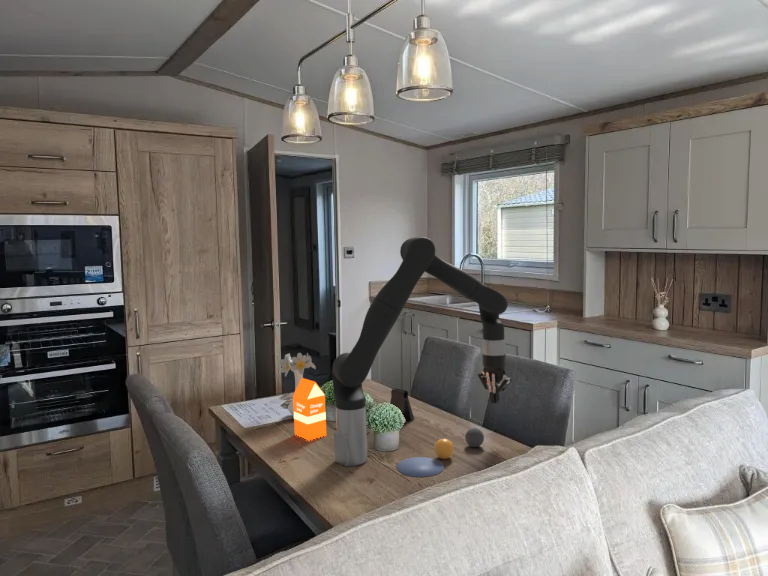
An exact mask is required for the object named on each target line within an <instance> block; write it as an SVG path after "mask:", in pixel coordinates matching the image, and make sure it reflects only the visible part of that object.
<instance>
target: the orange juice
mask: <svg viewBox="0 0 768 576" xmlns="http://www.w3.org/2000/svg"><path fill="white" fill-rule="evenodd" d="M292 400H293V404H294V417H293V420H294V421H293V425H294V426H293V427H294V435H295V436H296V435H297V436H296V437H298V436H299V437H298V438H300V437H302V438H304V439H306V440H305V441H307V440H308V441H307V442H311V441H314V440H313V439H315V440H317V439H316V438H318V439H321V438H324V437H327V413H326V394H325V393H324V392H323V390H322V389H321V388H320V386H319V385H318V384H317V382H316V381H314V380H310V379H307V378H304V377H303V378H302V379H301V381H300V383H299V385H298V387H297V389H296V391H295V390H294V392H293V395H292ZM323 436H324V437H323ZM320 437H321V438H320ZM302 438H301V439H302ZM304 439H303V440H304ZM310 440H311V441H310Z"/></svg>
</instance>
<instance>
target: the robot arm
mask: <svg viewBox="0 0 768 576" xmlns="http://www.w3.org/2000/svg"><path fill="white" fill-rule="evenodd" d="M399 251H400V252H399V253H400V254H399V255H400V257H401V259H402V261H401V264H400V266H399V267H398V269H397V270H396V272H395V273H394V275H393V276H392V277H391V278H390V279H389V280H388V281H387V282H386V283H385V285H383V286H382V288H381V289H380V290H379V291H378V293H377V294H376V296H375V297H374V299H373V301H372V302H371V304H370V305H369V307H368V309H367V312H366V314H365V317H364V320H363V324H362V328H361V330H360V331H361V332H360V335H359V338H358V340H357V342H356V343H355V345H354V346H353V348H352V349H351V351H350V352H343V353H341V354H339V355H338V356H336V358H335V359H334V360H333V363H332V371H331V373H332V374H331V375H332V387H333V388H332V389H333V390H332V391H333V396H334V397H333V398H334V400H335V401H334V402H335V419H336V420H335V423H336V425H335V427H336V430H334V431H333V441H334V443H333V445H334V461H335V462H337V463H338V464H340V465H342V466H345V467H350V466H359V465H363V464H365V463H366V462H367V461H368V438H367V437H368V436H367V408H366V404H367V403H366V395H365V393H364V390H363V383H364V382H365V380H366V379H367V377H368V375H369V373H370V371H371V368H372V366H373V363H374V361H375V360H376V356H377V355H378V352H379V350H380V349H381V347H382V346H383V344H384V342H385V340H386V339H387V337H388V336H389V334H390V332H391V330H392V328H393V327H394V326H395V324H396V322H397V321H398V319H399V317H400V315H401V313H402V312H403V309H404V308H405V307H406V304H407V302H408V300H409V299H410V298H411V297H410V296H411V295H412V292H413V290H414V289H415V288H416V285H417V284H418V282H419V281H420V280H421V278H422V276H423V275H424V273H427V275H430V276H432V277H434V278H436V279H437V280H439V281H440V282H442V283H443V284H445V285H446V286H448V287H449V288H451V289H452V290H453V291H454V292H455V291H456V292H457V293H458V294H459V295H460V296H462V297H463V298H465V299H467V300H469V301H471V302H475V303H476V304H478V309H479V315H480V320H481V324H482V345H481V346H482V347H481V348H482V349H481V351H482V355H481V356H482V357H481V358H482V366H483V368H482V371H481V372H479V373H477V376H478V378H479V380H480V382H481V384H482V386H483V387H484V389H485V390H488V392H489V401H490V404H493V405H497V404H499V402H500V393H501V392H504V391H505V390H506V389H507V388H508V386H509V385H510V383H511V382H512V378H511V377H508V376H507V375H506V374H507V373H506V370H505V368H506V364H507V363H506V362H507V361H506V344H505V343H506V342H505V341H506V340H505V324H504V322H502V320H501V319H500V315H502V314H503V313H506V310H507V309H508V300H507V298H506V297H505V295H503V294H502V293H501V292H499V291H497V290H495V289H494V288H492V287H490V286H489V285H486V284H484V283H482V281H480V279H477V278H476V277H474V276H473V275H471V274H470V273H469V272H467V271H465V270H463V269H461V268H460V267H457V266H455V265H453V264H451V263H450V262H448V261H445V260H443V259H442V258H440V256H438V255H436V246H435V243H434V242H433V241H432V239H430V238H428V237H424V236H417V237H416V236H415V237H410V238H408V239H406V240H405V241H403V242H402V244H401V246H400V250H399Z"/></svg>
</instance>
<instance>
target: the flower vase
mask: <svg viewBox="0 0 768 576" xmlns="http://www.w3.org/2000/svg"><path fill="white" fill-rule="evenodd" d="M312 361H313V360H312V356H311V355H309V353H308V352H307V353H306V354H302V353H301V352H298V353H297V355H296V356H293V357H291V352H290V353H287V354H285V355H284V358H282V359H280V360H279V364H280V365H279V367H280V372H281V373H282V374H283V373H284V377H286V378H287V375H288V373H289V372H290V371H291V372H293V374H294V380H295V381H294V384H295V385H294V387H295V388H294V389H295V390H294V392H295V391H296V389H297V387H298V385H299V383H300V381H301V379H302V378H304V371H305V369H310V368H312V369H314V370H316V368H317V367H316V365H315V364H314V363H313V362H312ZM287 410H288V412H289V413H290V415H291V416H292V418H294V404H293V399H292V400H291V401H290V402H289V404H288V406H287Z"/></svg>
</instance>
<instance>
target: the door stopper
mask: <svg viewBox="0 0 768 576" xmlns="http://www.w3.org/2000/svg"><path fill="white" fill-rule="evenodd" d="M390 395H391V398H390V401H389V405H390V404H393V405H395V406H396V407H398V408H399V409H400V410H401V412H402V414H403V415H404V417H405V419H406V422H407V423H409V422H411V420H412V421H414V420H415V417H414V413H413V409H412V407H411V402H410V400H409V392H408V390H405V389H401V388H396V387H395V388H392V389H391V392H390ZM413 419H414V420H413ZM408 421H409V422H408Z"/></svg>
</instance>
